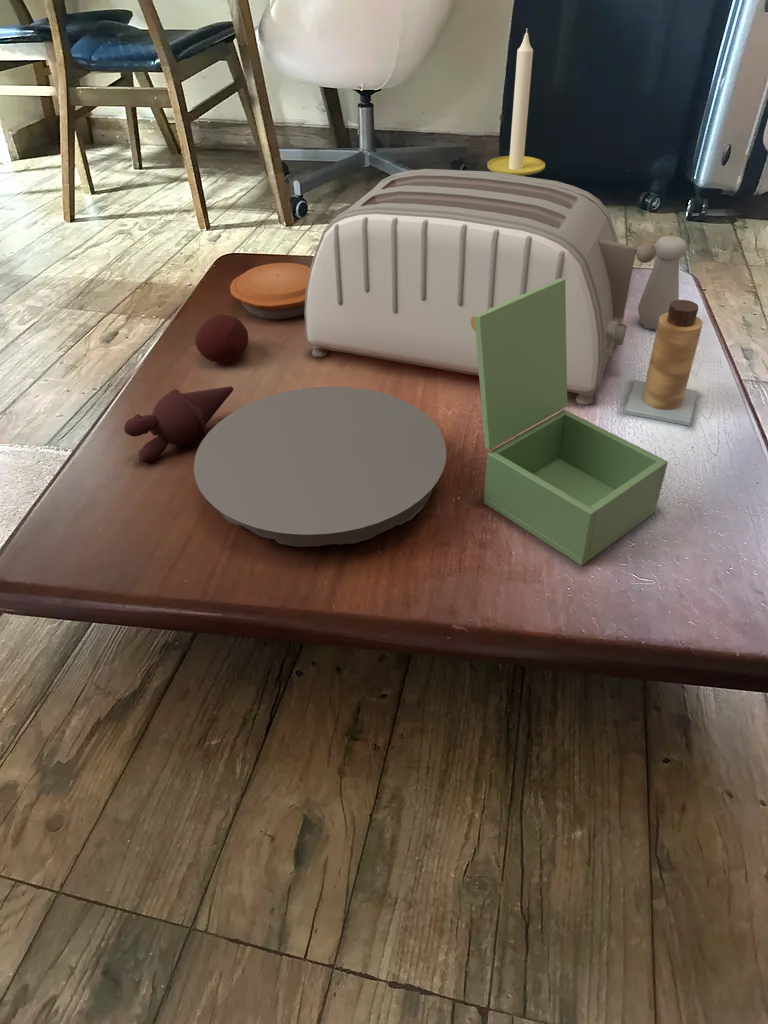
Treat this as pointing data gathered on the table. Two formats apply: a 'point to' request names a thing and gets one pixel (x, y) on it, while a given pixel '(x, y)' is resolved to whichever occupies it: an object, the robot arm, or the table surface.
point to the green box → (573, 484)
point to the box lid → (522, 361)
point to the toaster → (467, 269)
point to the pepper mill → (672, 356)
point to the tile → (674, 416)
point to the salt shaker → (662, 281)
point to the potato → (222, 338)
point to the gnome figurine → (176, 419)
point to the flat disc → (321, 465)
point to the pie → (273, 290)
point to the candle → (519, 121)
